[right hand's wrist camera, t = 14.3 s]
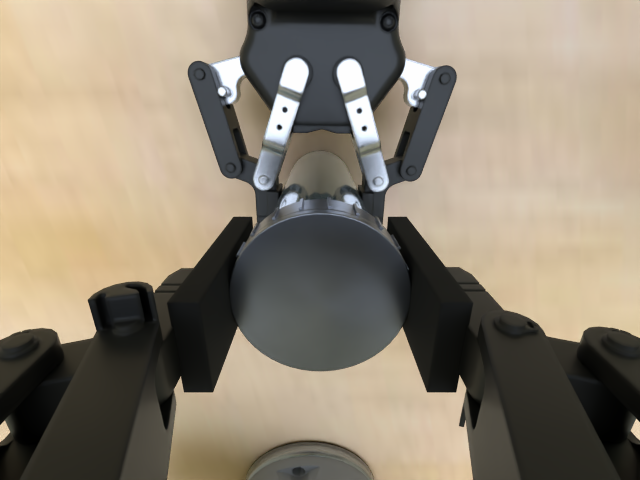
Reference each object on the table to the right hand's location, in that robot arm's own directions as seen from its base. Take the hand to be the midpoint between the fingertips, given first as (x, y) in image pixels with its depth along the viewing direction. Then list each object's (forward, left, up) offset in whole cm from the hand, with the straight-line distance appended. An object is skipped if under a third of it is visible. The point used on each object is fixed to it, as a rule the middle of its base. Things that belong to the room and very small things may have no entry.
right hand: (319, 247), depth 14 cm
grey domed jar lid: (0, 0, +4) cm, 4 cm away
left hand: (-2, +2, -7) cm, 7 cm away
